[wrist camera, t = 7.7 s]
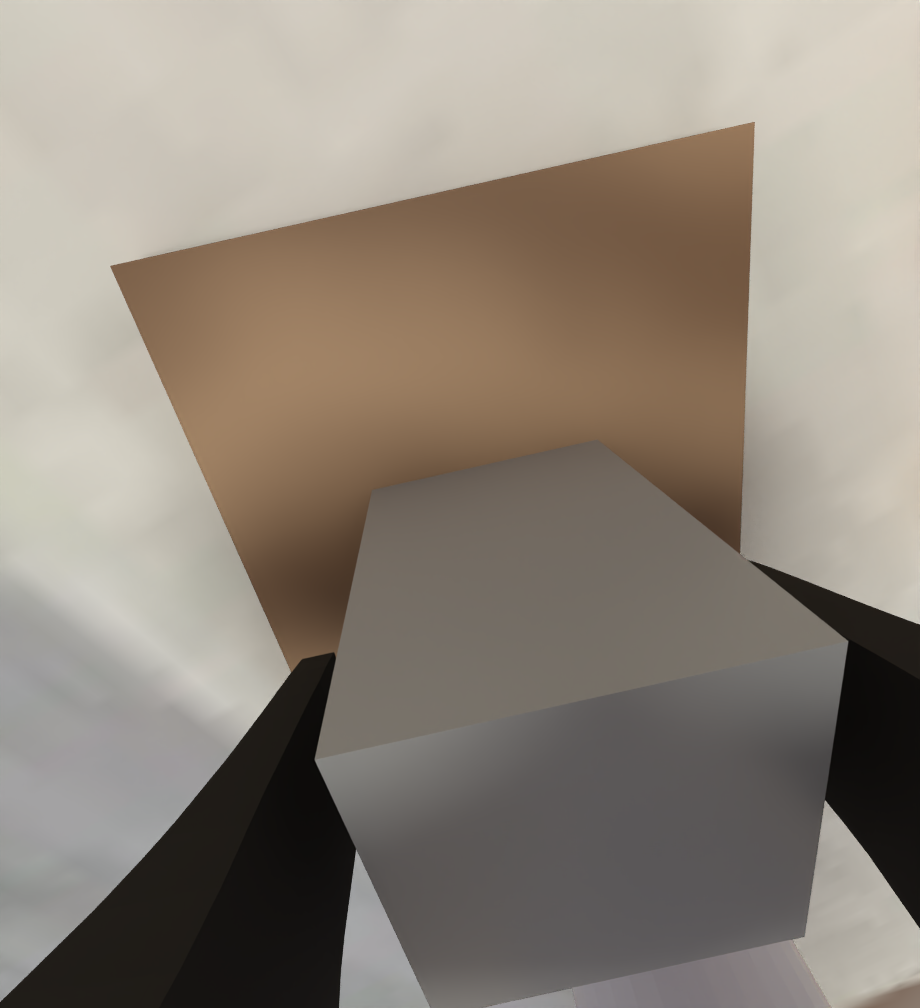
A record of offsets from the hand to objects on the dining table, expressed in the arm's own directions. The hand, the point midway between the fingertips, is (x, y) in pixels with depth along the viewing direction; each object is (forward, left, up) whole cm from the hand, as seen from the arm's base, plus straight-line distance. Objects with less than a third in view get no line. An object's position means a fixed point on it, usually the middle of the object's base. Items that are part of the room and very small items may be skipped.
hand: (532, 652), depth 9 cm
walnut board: (0, 0, -4) cm, 4 cm away
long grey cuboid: (0, 0, -3) cm, 3 cm away
